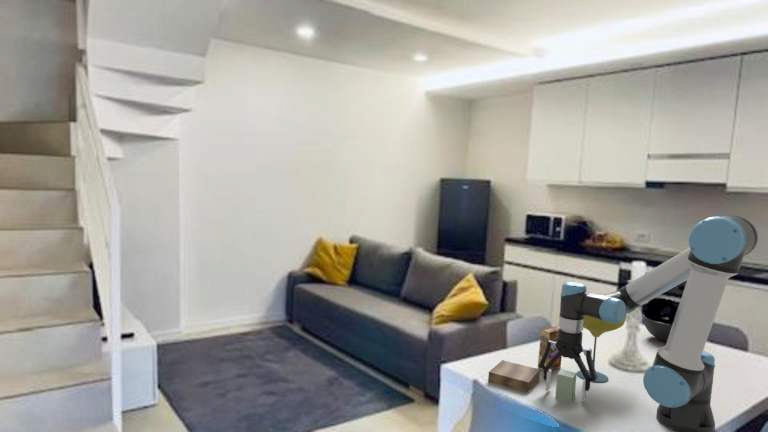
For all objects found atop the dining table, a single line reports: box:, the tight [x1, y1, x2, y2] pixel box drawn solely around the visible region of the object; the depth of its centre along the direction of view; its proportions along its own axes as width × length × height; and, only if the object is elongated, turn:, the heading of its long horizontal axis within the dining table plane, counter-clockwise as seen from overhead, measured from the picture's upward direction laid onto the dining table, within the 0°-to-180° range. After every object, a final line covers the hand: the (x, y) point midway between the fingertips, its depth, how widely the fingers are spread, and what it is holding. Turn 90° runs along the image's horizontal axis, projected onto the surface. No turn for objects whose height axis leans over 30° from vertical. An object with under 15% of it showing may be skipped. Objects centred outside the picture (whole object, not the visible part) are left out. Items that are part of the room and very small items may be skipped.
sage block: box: [555, 369, 577, 402], centre depth 166 cm, size 5×5×8 cm
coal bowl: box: [642, 297, 678, 342], centre depth 229 cm, size 20×20×19 cm
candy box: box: [537, 326, 563, 371], centre depth 190 cm, size 9×4×15 cm, turn 123°
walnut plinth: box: [487, 360, 541, 394], centre depth 178 cm, size 14×14×4 cm
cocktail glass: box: [576, 315, 626, 384], centre depth 183 cm, size 18×18×25 cm
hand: (565, 394), depth 166 cm, fingers open, 11 cm apart
